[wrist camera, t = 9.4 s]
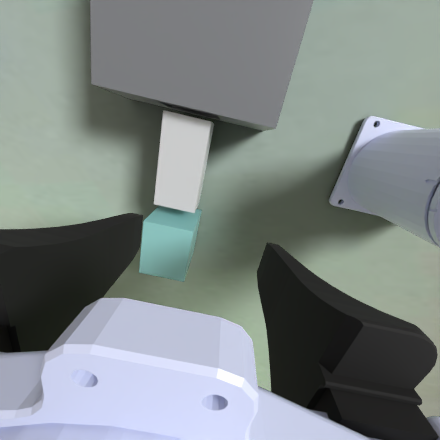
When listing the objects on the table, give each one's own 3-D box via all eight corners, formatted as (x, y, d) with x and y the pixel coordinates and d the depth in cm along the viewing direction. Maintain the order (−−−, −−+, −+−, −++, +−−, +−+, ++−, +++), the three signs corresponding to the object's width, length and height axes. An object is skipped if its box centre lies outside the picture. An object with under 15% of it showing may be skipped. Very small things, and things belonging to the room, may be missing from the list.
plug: (218, 125, 18) (214, 121, 13) (193, 251, 23) (183, 281, 18) (173, 115, 18) (153, 106, 13) (158, 243, 23) (139, 272, 18)
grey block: (304, -18, 15) (342, -98, 10) (263, 131, 18) (275, 128, 13) (137, -64, 14) (87, -172, 9) (129, 99, 18) (91, 84, 13)
